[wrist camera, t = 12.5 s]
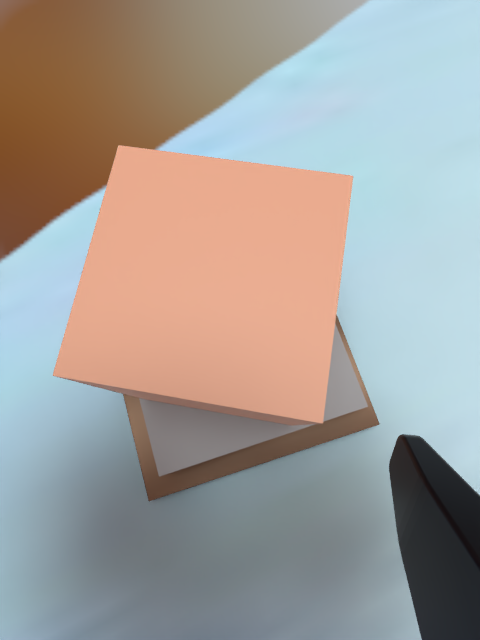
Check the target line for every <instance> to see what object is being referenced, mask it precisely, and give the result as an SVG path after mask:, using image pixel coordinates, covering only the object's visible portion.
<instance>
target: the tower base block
mask: <svg viewBox="0 0 480 640" xmlns="http://www.w3.org/2000/svg"><path fill="white" fill-rule="evenodd" d="M335 324H336V327H337V329H338V332H339V334H340V337H341V339H342V342H343V344H344V347H345V349H346V352H347V354H348V357H349V359H350V362H351V364H352V367H353V370H354V372H355V375H356V377H357V380H358V382H359V385H360V387H361V390H362V392H363V395H364V397H365V400H366V402H367V405H368V407H365V408H362V409H359V410H356V411H354V412H351V413H348V414H345V415H342V416H339V417H336V418H333V419H330V420H327V421H324V422H323V424H315V425H312V426H309V427H306V428H303V429H300V430H297V431H294V432H291V433H288V434H285V435H282V436H279V437H276V438H273V439H270V440H267V441H264V442H261V443H258V444H255V445H252V446H249V447H246V448H243V449H240V450H237V451H234V452H231V453H228V454H225V455H222V456H219V457H216V458H213V459H211V460H208V461H205V462H202V463H199V464H196V465H193V466H190V467H187V468H184V469H181V470H178V471H175V472H172V473H169V474H166V475H163V476H160V477H159V475H158V471H157V467H156V463H155V459H154V455H153V451H152V447H151V443H150V439H149V435H148V431H147V427H146V423H145V419H144V415H143V411H142V408H141V404H140V400H139V398H138V397H134V396H130V395H126V394H123V396H124V400H125V404H126V408H127V412H128V416H129V421H130V425H131V429H132V433H133V437H134V441H135V446H136V450H137V454H138V458H139V462H140V466H141V470H142V475H143V479H144V483H145V487H146V491H147V495H148V500H149V501H151V500H154V499H157V498H160V497H163V496H166V495H169V494H172V493H175V492H178V491H181V490H184V489H187V488H190V487H193V486H196V485H199V484H202V483H205V482H208V481H211V480H214V479H217V478H220V477H223V476H226V475H229V474H232V473H235V472H238V471H241V470H244V469H247V468H250V467H253V466H256V465H259V464H262V463H265V462H268V461H271V460H274V459H277V458H280V457H283V456H286V455H289V454H292V453H295V452H298V451H301V450H304V449H307V448H310V447H313V446H316V445H319V444H322V443H325V442H328V441H331V440H334V439H337V438H340V437H343V436H346V435H349V434H352V433H355V432H358V431H361V430H364V429H367V428H370V427H373V426H376V425H379V421H378V419H377V416H376V414H375V411H374V409H373V406H372V404H371V401H370V399H369V396H368V394H367V391H366V388H365V386H364V383H363V381H362V378H361V376H360V373H359V371H358V368H357V366H356V363H355V360H354V358H353V355H352V353H351V350H350V348H349V345H348V343H347V340H346V338H345V335H344V333H343V330H342V327H341V325H340V322H339V320H338V317H337V315H336V321H335Z"/></svg>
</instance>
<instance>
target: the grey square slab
mask: <svg viewBox="0 0 480 640" xmlns="http://www.w3.org/2000/svg"><path fill="white" fill-rule="evenodd" d="M139 400H140V404H141V408H142V411H143V415H144V419H145V423H146V427H147V431H148V435H149V439H150V443H151V447H152V451H153V455H154V459H155V463H156V467H157V471H158V475H159V477H160V476H163V475H166V474H169V473H172V472H175V471H178V470H181V469H184V468H187V467H190V466H193V465H196V464H199V463H202V462H205V461H208V460H211V459H213V458H216V457H219V456H222V455H225V454H228V453H231V452H234V451H237V450H240V449H243V448H246V447H249V446H252V445H255V444H258V443H261V442H264V441H267V440H270V439H273V438H276V437H279V436H282V435H285V434H288V433H291V432H294V431H297V430H300V429H303V428H306V427H309V426H312V425H315V424H308V425H292V426H291V425H286V424H280V423H275V422H269V421H263V420H258V419H252V418H247V417H241V416H236V415H230V414H224V413H219V412H213V411H208V410H202V409H196V408H191V407H185V406H180V405H174V404H169V403H163V402H157V401H152V400H146V399H141V398H139ZM365 407H368V405H367V402H366V400H365V397H364V395H363V392H362V390H361V387H360V385H359V382H358V380H357V377H356V375H355V372H354V370H353V367H352V364H351V362H350V359H349V357H348V354H347V352H346V349H345V347H344V344H343V342H342V339H341V337H340V334H339V332H338V329H337V327H336V324H335V329H334V337H333V345H332V353H331V362H330V370H329V378H328V386H327V394H326V403H325V411H324V419H323V422H324V421H327V420H330V419H333V418H336V417H339V416H342V415H345V414H348V413H351V412H354V411H356V410H359V409H362V408H365Z"/></svg>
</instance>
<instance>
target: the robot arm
mask: <svg viewBox="0 0 480 640" xmlns="http://www.w3.org/2000/svg"><path fill="white" fill-rule="evenodd" d="M389 472H390V480H391V488H392V496H393V504H394V511H395V519H396V527H397V534H398V541H399V546H400V551H401V555H402V560H403V564H404V568H405V572H406V576H407V580H408V584H409V588H410V592H411V597H412V601H413V605H414V609H415V613H416V617H417V621H418V625H419V630H420V634H421V638H422V640H480V495H479V494H478V493H477V492H476V491H475V490H474V489H473V488H472V487H471V486H470V485H469V484H468V483H467V482H466V481H465V480H464V479H463V478H462V477H461V476H460V475H459V474H458V473H457V472H456V471H455V470H454V469H453V468H452V467H451V466H450V465H449V464H448V463H447V462H446V461H445V460H444V459H443V458H442V457H441V456H440V455H439V454H438V453H437V452H436V451H435V450H434V449H433V448H432V447H431V446H430V445H429V444H428V443H427V442H426V441H425V440H424V439H423V438H421V437H420V436H415V435H405V434H402V435H400V436H399V437H398V439H397V441H396V444H395V447H394V450H393V453H392V456H391V459H390V464H389Z"/></svg>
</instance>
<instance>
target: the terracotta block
mask: <svg viewBox="0 0 480 640" xmlns="http://www.w3.org/2000/svg"><path fill="white" fill-rule="evenodd" d="M352 181H353V176H350V175H342V174H335V173H327V172H319V171H312V170H304V169H296V168H289V167H281V166H273V165H266V164H258V163H251V162H243V161H235V160H228V159H220V158H212V157H205V156H197V155H189V154H182V153H174V152H166V151H159V150H151V149H143V148H136V147H128V146H121V145H119V146H118V149H117V152H116V156H115V159H114V163H113V167H112V170H111V174H110V177H109V181H108V184H107V187H106V191H105V194H104V198H103V201H102V205H101V208H100V212H99V215H98V219H97V222H96V226H95V229H94V233H93V236H92V240H91V243H90V247H89V250H88V254H87V257H86V261H85V264H84V268H83V271H82V275H81V278H80V282H79V285H78V289H77V292H76V296H75V299H74V303H73V306H72V310H71V313H70V316H69V320H68V323H67V327H66V330H65V334H64V337H63V341H62V344H61V348H60V351H59V355H58V358H57V362H56V365H55V369H54V372H53V376H56V377H60V378H64V379H68V380H72V381H76V382H79V383H83V384H87V385H91V386H95V387H99V388H103V389H107V390H110V391H114V392H118V393H122V394H126V395H130V396H134V397H138V398H141V399H146V400H152V401H157V402H163V403H169V404H174V405H180V406H185V407H191V408H196V409H202V410H208V411H213V412H219V413H224V414H230V415H236V416H241V417H247V418H252V419H258V420H263V421H269V422H275V423H280V424H286V425H291V426H292V425H308V424H323V419H324V411H325V403H326V394H327V386H328V378H329V370H330V362H331V353H332V345H333V337H334V329H335V321H336V312H337V304H338V296H339V288H340V280H341V271H342V263H343V255H344V247H345V239H346V230H347V222H348V214H349V206H350V197H351V189H352Z"/></svg>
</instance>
